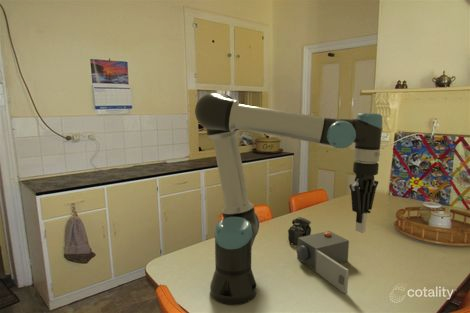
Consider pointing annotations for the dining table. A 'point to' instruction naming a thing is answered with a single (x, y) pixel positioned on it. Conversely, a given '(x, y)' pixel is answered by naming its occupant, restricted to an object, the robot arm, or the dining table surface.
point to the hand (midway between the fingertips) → (360, 231)
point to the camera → (299, 230)
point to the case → (322, 247)
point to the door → (331, 271)
